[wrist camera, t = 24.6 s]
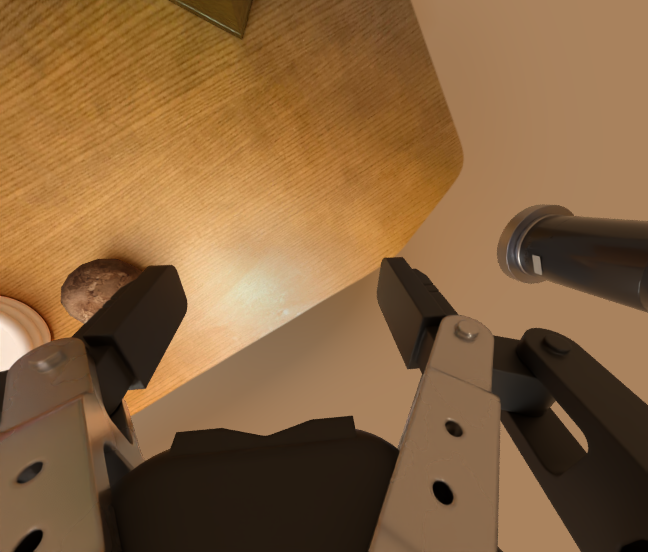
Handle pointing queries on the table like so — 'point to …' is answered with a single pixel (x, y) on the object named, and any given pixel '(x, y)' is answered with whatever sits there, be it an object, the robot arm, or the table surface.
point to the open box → (220, 13)
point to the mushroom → (94, 286)
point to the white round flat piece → (19, 331)
